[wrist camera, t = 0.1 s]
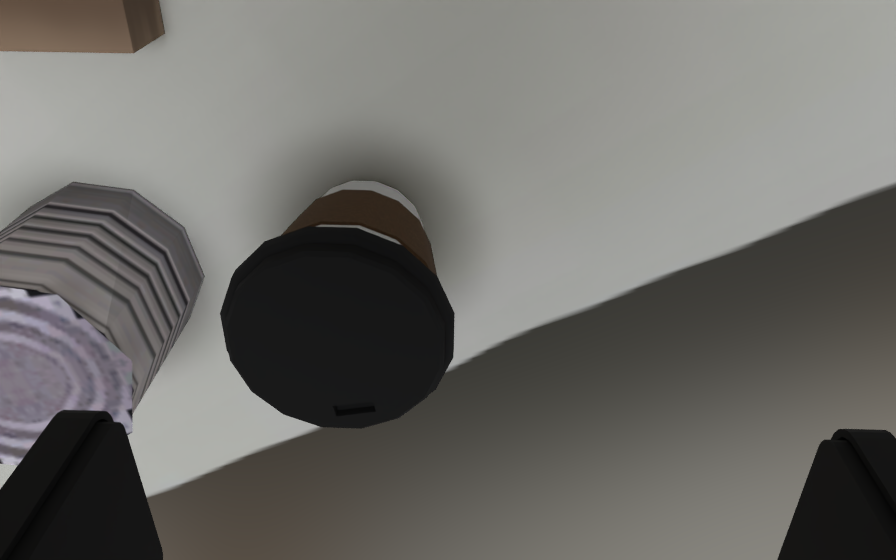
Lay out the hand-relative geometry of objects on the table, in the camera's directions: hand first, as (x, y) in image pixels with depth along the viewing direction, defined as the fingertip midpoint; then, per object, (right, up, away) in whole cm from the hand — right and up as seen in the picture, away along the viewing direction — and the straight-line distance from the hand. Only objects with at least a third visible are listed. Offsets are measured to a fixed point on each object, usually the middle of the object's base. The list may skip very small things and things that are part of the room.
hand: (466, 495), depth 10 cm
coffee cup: (-5, +6, +33) cm, 34 cm away
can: (-21, +4, +35) cm, 41 cm away
